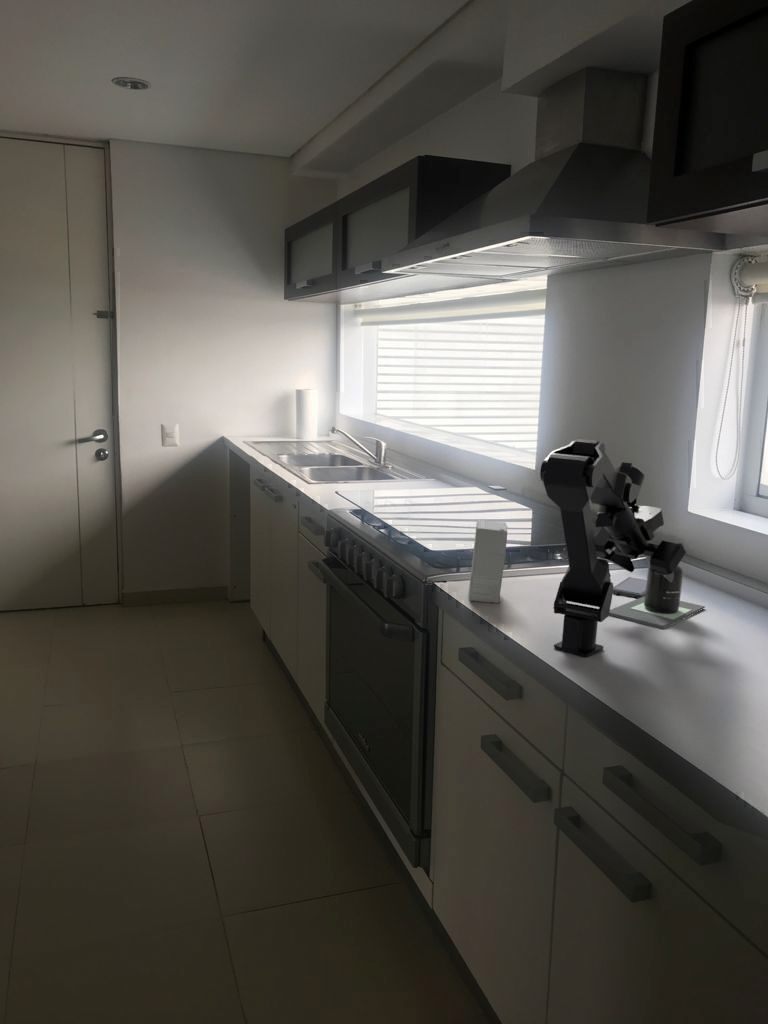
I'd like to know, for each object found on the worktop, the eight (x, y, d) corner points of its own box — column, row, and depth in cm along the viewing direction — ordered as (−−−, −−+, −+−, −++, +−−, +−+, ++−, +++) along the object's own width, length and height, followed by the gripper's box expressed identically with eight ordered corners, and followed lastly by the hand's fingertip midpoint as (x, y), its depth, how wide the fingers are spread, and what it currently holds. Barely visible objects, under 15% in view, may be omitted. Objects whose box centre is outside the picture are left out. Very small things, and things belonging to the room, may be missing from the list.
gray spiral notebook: (662, 628, 164) (663, 624, 164) (605, 614, 172) (606, 609, 172) (704, 609, 179) (704, 604, 178) (650, 596, 187) (650, 592, 186)
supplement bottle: (672, 616, 170) (678, 557, 167) (638, 609, 174) (644, 551, 171) (683, 609, 175) (689, 551, 173) (650, 602, 179) (656, 546, 177)
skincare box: (468, 590, 185) (473, 518, 182) (501, 593, 184) (507, 520, 181) (468, 601, 177) (473, 526, 174) (503, 604, 176) (508, 528, 173)
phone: (641, 598, 184) (642, 594, 184) (609, 593, 188) (610, 589, 188) (659, 585, 196) (659, 581, 196) (628, 580, 200) (629, 576, 200)
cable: (654, 604, 181) (654, 601, 181) (614, 594, 187) (614, 591, 187) (669, 598, 186) (669, 594, 186) (630, 589, 192) (630, 585, 192)
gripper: (685, 501, 157) (713, 554, 165) (604, 486, 172) (634, 536, 180) (654, 546, 154) (684, 599, 162) (574, 528, 168) (606, 576, 177)
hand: (651, 575), depth 170 cm, fingers open, 9 cm apart
